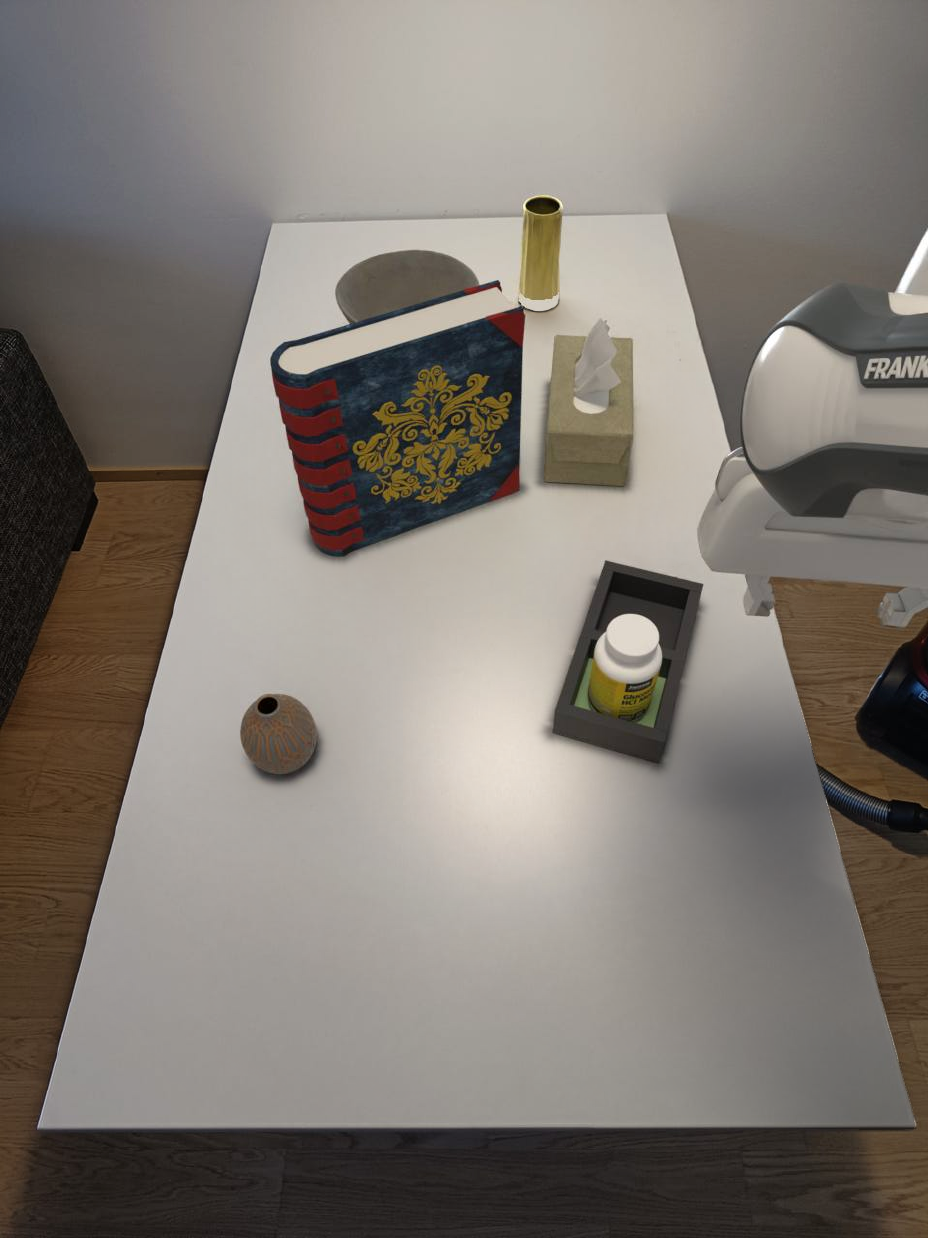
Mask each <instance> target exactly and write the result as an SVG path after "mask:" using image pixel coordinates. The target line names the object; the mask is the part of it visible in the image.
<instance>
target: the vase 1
mask: <svg viewBox="0 0 928 1238" xmlns="http://www.w3.org/2000/svg"><path fill="white" fill-rule="evenodd" d="M239 735H240V743H241V746H242V748H243V751H244V753H245V754H246V756H247V758H248V760H250V762H251V763H252V764H253V765H255V766H256V767H257V768H259V769H260V770H262V771H264V772H266V773H270V774H276V775H283V774H284V775H285V774H289V773H292V772H294V771H297V770H299V769H300V768H302V767H303V766H304V765H305V764H306V763H307V762H308V761H309V759H311V756H312V755H313V753H314V751H315V748H316V745H317V739H318V738H317V737H318V733H317V726H316V722H315V719H314V716H313V715H312V713H311V711H310V710H309V708H307V707H306V705H305V704H304V703H303V702H302V701H300V700H299V699H297V698H295V697H293V696H291V695H289V694H284V693H266V694H262V695H261V696H259V697H258V698H257V699H256V700H255V701H253V703H251V704H250V705H249V706H248V708H247V710H246V711H245V713H244V714H243V717H242V719H241V723H240V734H239Z"/></svg>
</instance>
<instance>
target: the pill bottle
mask: <svg viewBox="0 0 928 1238" xmlns="http://www.w3.org/2000/svg"><path fill="white" fill-rule="evenodd" d="M661 664H662V651H661V647H660V645H659V632H658V630H657V628H656V626H655V625H654V624H653V623H652V622H651V621H650V620H649V619H647V618H645V617H643V616H641V615H637V614H624V615H621V616H618V617H616V618H615V619H613V620H612V621H611V622H610V624H609V625H608V627H607V631H606V632H605V633H604V634H603V635H602V636H601V637H600V638H599V640H598V641H597V644H596V647H595V651H594V657H593V663H592V669H591V674H590V680H589V686H588V702H589V704H590V707H591V708H592V710H593V711H595V712H598V713H602V714H606V715H609V716H613V717H616V718H620V719H623V720H627V721H631V722H635V721H637V720H639V719H640V718H642V717H643V716H644V715H645V713H646V712H647V710H648V708H649V706H650V703H651V699H652V696H653V692H654V689H655V685H656V682H657V678H658V675H659V671H660V668H661Z"/></svg>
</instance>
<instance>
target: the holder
mask: <svg viewBox="0 0 928 1238" xmlns="http://www.w3.org/2000/svg"><path fill="white" fill-rule="evenodd" d="M603 563H604V564H603V566H602V569H601V572H600V575H599V578H598V581H597V584H596V587H595V590H594V593H593V596H592V599H591V602H590V605H589V607H588V610H587V613H586V617H585V619H584V623H583V626H582V629H581V632H580V635H579V637H578V640H577V643H576V646H575V650H574V653H573V655H572V657H571V658H572V659H571V661H570V664H569V667H568V671H567V673H566V675H565V679H564V682H563V686H562V687H561V691H560V694H559V697H558V700H557V703H556V706H555V709H554V714H553V724H552V725H553V726H552V734H555V735H560V736H563V737H566V738H569V739H572V740H575V741H580V742H582V743H586V744H590V745H594V746H596V747H600V748H603V749H607V750H611V751H614V752H617V753H621V754H624V755H628V756H632V757H635V758H638V759H641V760H646V761H649V762H651V763H654V764H655V763H656V764H659V762H660V759H661V755H662V752H663V750H664V747H665V743H666V739H667V735H668V731H669V727H670V722H671V719H672V716H673V715H672V714H673V711H674V707H675V703H676V699H677V695H678V691H679V686H680V682H681V678H682V674H683V670H684V666H685V661H686V657H687V653H688V650H689V646H690V641H691V638H692V633H693V628H694V625H695V620H696V616H697V614H698V608H699V605H700V600H701V596H702V593H703V589H704V583H701V582H698V581H693V580H689V579H684V578H681V577H677V576H672V575H668V574H664V573H660V572H657V571H656V572H655V571H652V570H647V569H643V568H640V567H639V568H638V567H636V566H631V565H628V564H627V565H626V564H622V563H618V562H615V561H610V560H604V562H603ZM624 614H637V615H641V616H643V617H645V618H647V619H649V620H650V621H651V622H652V623H653V624H654V625H655V626H656V628H657V630H658V632H659V645H660V647H661V651H662V664H661V668H660V671H659V675H658V678H657V682H656V685H655V689H654V692H653V696H652V699H651V703H650V706H649V708H648V710H647V712H646V713H645V715H644V716H643V717H642V718H640V719H639V720H637V721H635V722H631V721H627V720H623V719H620V718H616V717H613V716H609V715H606V714H602V713H598V712H595V711H593V710H592V708H591V707H590V704H589V702H588V686H589V680H590V674H591V669H592V663H593V657H594V651H595V647H596V644H597V641H598V640H599V638H600V637H601V636H602V635H603V634H604V633H605V632H606V631H607V627H608V625H609V624H610V622H611V621H612V620H613V619H615V618H616V617H618V616H621V615H624Z"/></svg>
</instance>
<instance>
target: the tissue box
mask: <svg viewBox="0 0 928 1238" xmlns="http://www.w3.org/2000/svg"><path fill="white" fill-rule="evenodd" d="M607 323H608V322H607V320H606V319H605V320H604V319H602V318H601V317H599V319H598V320H597V321H596V322H595V324H594V325H593V326H592V327H591V329H589V332H588V334H587V336H586V335H567V334H565V335H563V334H555V335H554V337H553V349H552V360H551V361H552V362H551V373H550V387H549V398H548V411H547V421H546V422H547V423H546V437H545V452H544V453H545V454H544V470H543V471H544V472H543V481H544V482H546V483H561V484H562V483H563V484H579V485H580V484H581V485H599V486H615V487H617V486H618V487H624V486H626V485H627V478H628V472H629V465H630V460H631V459H630V458H631V453H632V446H633V442H634V441H633V440H634V340H633V338H632V337H614V336H613V337H612V336H610V334H609V331H610V329H611V326H610V325H609V324H607Z"/></svg>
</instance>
